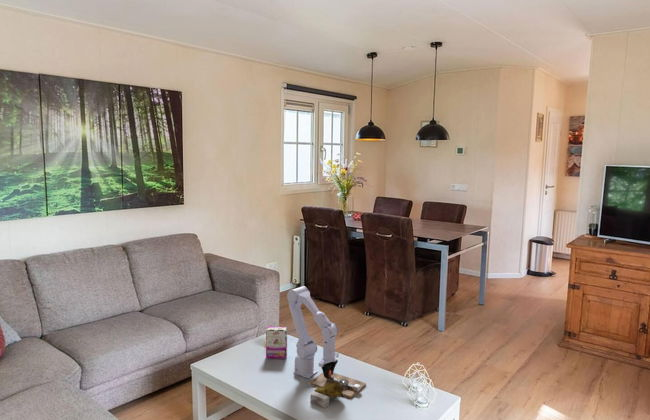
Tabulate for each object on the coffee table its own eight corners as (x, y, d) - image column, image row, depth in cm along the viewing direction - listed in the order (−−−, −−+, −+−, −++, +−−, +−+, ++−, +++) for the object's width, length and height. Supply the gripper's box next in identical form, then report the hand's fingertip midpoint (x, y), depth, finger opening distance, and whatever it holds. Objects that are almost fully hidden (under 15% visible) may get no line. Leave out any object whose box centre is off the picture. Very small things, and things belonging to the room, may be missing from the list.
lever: (361, 388, 217) (361, 377, 216) (356, 392, 213) (357, 381, 213) (327, 377, 227) (327, 367, 226) (322, 381, 223) (323, 370, 222)
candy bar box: (287, 355, 253) (287, 326, 251) (286, 359, 248) (286, 330, 246) (267, 354, 254) (267, 326, 252) (265, 358, 249) (265, 329, 247)
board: (293, 396, 211) (293, 387, 211) (325, 372, 235) (325, 364, 234) (336, 412, 199) (336, 403, 199) (365, 385, 223) (366, 377, 222)
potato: (321, 390, 217) (321, 374, 216) (345, 398, 211) (345, 382, 210) (312, 398, 210) (312, 382, 209) (336, 406, 203) (337, 389, 202)
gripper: (327, 356, 214) (326, 384, 216) (344, 346, 226) (343, 372, 228) (315, 352, 218) (314, 379, 220) (332, 342, 230) (331, 368, 232)
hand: (328, 375), depth 224 cm, fingers open, 3 cm apart
